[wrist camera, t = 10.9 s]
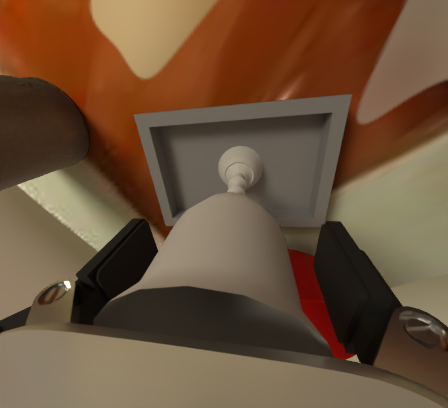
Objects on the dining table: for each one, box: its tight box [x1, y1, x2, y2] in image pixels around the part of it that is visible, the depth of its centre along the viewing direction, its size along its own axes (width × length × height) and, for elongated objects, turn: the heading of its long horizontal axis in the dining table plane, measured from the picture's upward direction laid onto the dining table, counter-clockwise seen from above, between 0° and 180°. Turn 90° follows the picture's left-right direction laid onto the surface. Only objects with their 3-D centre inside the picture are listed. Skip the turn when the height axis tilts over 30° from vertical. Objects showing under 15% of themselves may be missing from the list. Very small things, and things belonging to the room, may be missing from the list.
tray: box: [134, 94, 352, 228], centre depth 21 cm, size 19×13×3 cm
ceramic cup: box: [288, 250, 356, 360], centre depth 24 cm, size 13×17×10 cm
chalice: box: [93, 146, 335, 358], centre depth 13 cm, size 7×7×18 cm
